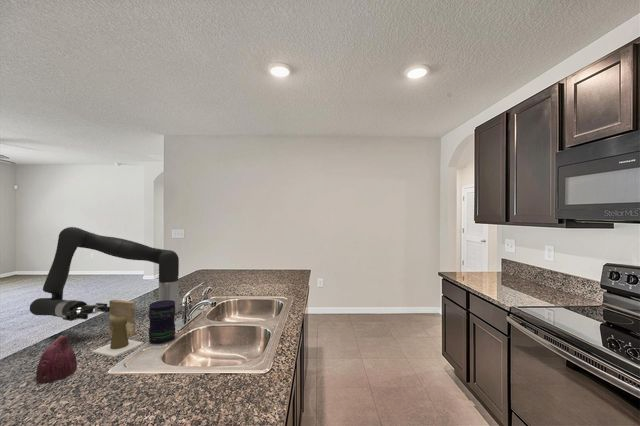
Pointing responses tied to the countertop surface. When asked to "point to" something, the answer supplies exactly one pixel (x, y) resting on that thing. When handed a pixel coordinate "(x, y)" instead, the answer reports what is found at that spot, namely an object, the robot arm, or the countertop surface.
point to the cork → (119, 333)
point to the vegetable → (56, 361)
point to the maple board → (122, 314)
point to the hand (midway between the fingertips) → (98, 312)
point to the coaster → (116, 352)
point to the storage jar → (162, 321)
